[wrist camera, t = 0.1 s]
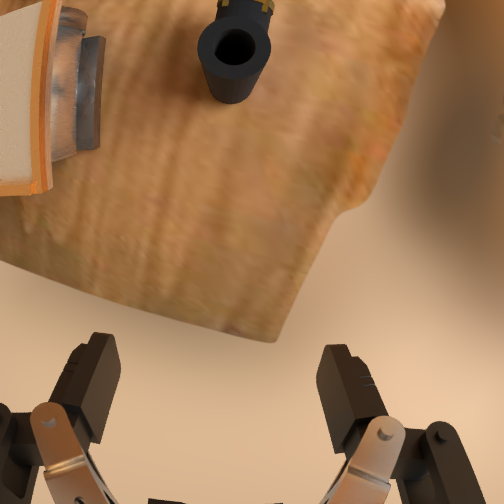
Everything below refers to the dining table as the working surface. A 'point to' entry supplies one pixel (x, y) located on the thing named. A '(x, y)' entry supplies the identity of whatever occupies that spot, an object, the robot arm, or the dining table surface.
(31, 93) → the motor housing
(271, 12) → the pipe connector
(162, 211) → the dining table surface
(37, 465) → the robot arm
